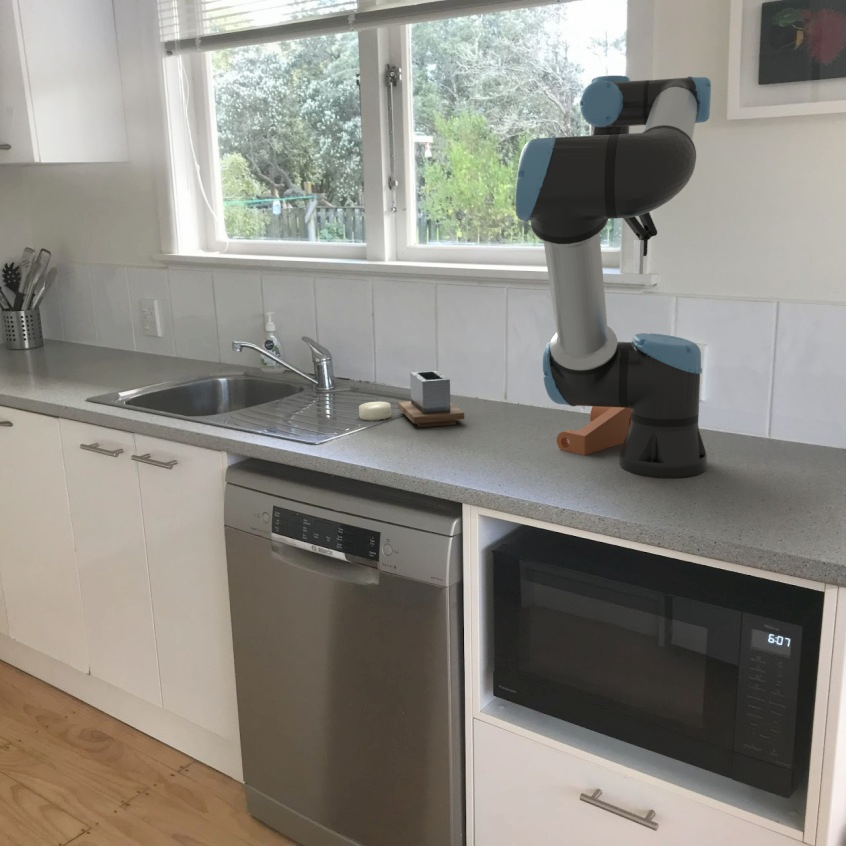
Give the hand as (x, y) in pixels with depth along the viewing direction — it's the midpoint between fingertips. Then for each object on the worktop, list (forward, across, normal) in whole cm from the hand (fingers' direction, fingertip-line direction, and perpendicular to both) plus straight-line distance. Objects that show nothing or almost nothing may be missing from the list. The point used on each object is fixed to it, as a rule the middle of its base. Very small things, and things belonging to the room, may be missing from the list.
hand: (606, 275), depth 181 cm
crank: (+32, +4, +7) cm, 33 cm away
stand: (+32, +31, -21) cm, 49 cm away
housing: (+29, +31, -21) cm, 47 cm away
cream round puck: (+32, +42, -27) cm, 59 cm away
